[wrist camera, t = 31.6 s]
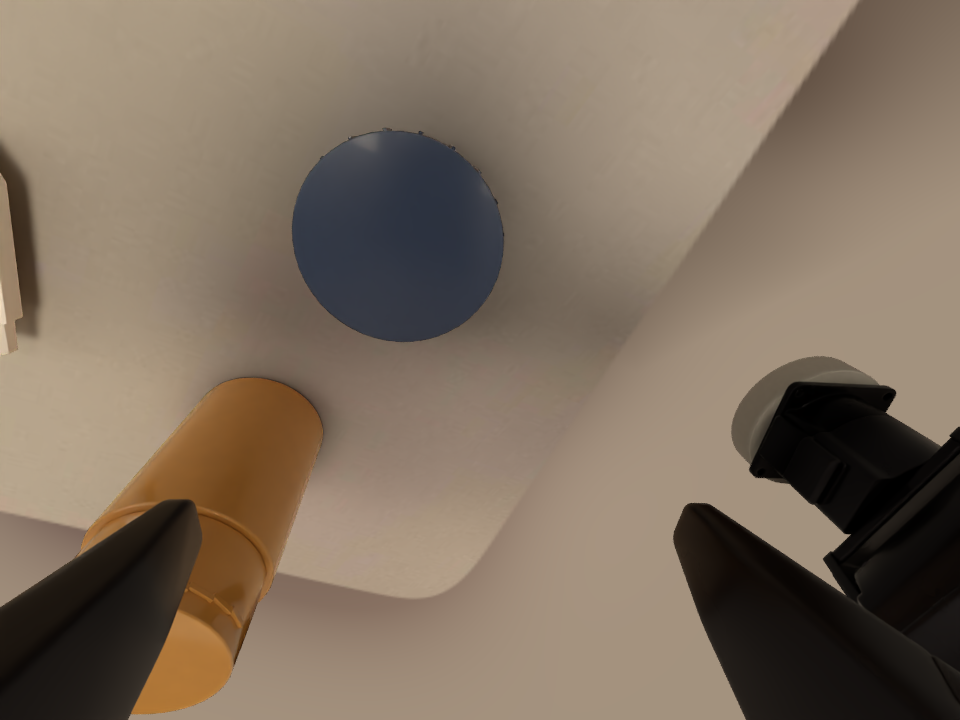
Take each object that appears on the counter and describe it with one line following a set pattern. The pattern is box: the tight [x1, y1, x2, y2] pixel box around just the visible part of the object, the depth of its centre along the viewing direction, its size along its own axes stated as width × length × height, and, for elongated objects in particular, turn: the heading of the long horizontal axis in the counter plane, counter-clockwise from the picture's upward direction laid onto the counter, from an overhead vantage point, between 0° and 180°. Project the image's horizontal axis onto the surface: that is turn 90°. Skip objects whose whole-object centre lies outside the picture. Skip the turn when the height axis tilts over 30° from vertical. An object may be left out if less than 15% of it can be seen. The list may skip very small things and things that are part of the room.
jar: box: [74, 378, 323, 714], centre depth 15 cm, size 5×5×10 cm
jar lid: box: [292, 128, 504, 342], centre depth 15 cm, size 6×6×3 cm
